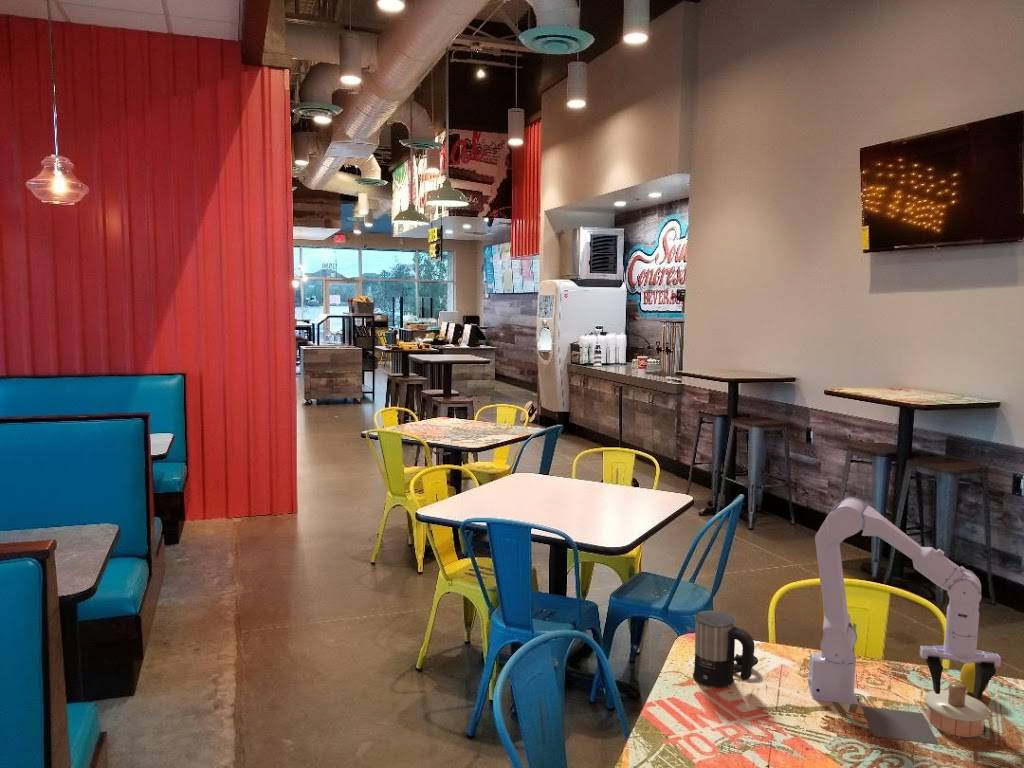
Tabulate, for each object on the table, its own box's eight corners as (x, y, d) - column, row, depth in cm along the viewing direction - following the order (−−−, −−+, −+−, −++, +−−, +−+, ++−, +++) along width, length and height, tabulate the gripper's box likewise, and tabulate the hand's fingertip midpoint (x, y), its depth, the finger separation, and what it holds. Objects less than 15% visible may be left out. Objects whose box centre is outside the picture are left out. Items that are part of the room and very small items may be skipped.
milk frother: (689, 684, 178) (691, 622, 177) (698, 655, 193) (700, 597, 191) (754, 696, 173) (757, 632, 172) (758, 665, 188) (761, 606, 186)
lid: (932, 717, 157) (934, 695, 157) (918, 689, 169) (919, 669, 168) (997, 725, 155) (998, 703, 154) (978, 696, 166) (979, 676, 165)
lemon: (991, 702, 172) (994, 667, 171) (964, 699, 173) (966, 664, 172) (981, 690, 177) (984, 656, 176) (955, 687, 178) (957, 653, 177)
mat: (873, 737, 157) (873, 735, 157) (861, 707, 169) (861, 705, 169) (938, 746, 154) (939, 744, 154) (922, 715, 166) (922, 713, 166)
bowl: (935, 734, 158) (936, 715, 158) (921, 709, 168) (922, 691, 168) (989, 741, 156) (991, 722, 156) (973, 715, 166) (974, 697, 165)
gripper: (928, 635, 158) (923, 699, 159) (1008, 643, 154) (1003, 708, 156) (918, 621, 165) (914, 682, 166) (995, 628, 161) (990, 691, 163)
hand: (956, 694), depth 161 cm, fingers open, 7 cm apart
